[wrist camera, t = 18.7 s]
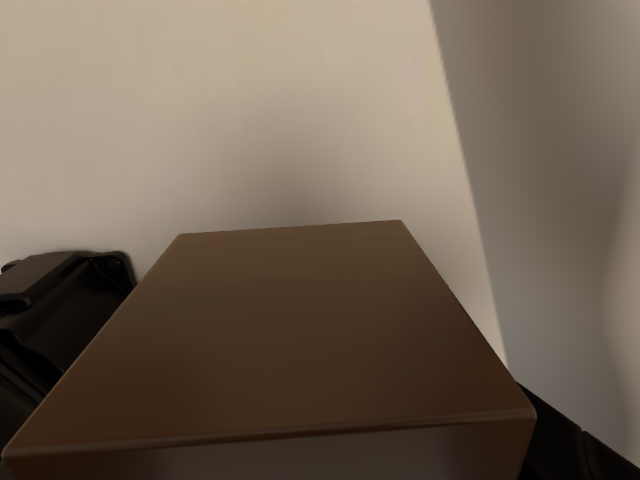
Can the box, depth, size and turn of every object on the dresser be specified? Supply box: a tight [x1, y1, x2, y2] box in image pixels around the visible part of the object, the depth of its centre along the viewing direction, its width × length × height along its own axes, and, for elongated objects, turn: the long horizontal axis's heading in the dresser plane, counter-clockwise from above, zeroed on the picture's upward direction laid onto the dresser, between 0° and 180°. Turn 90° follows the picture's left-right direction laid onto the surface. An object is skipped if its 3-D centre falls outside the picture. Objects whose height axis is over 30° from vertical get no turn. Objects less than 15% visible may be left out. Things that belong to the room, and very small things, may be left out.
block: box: [1, 220, 537, 480], centre depth 6 cm, size 5×5×5 cm
